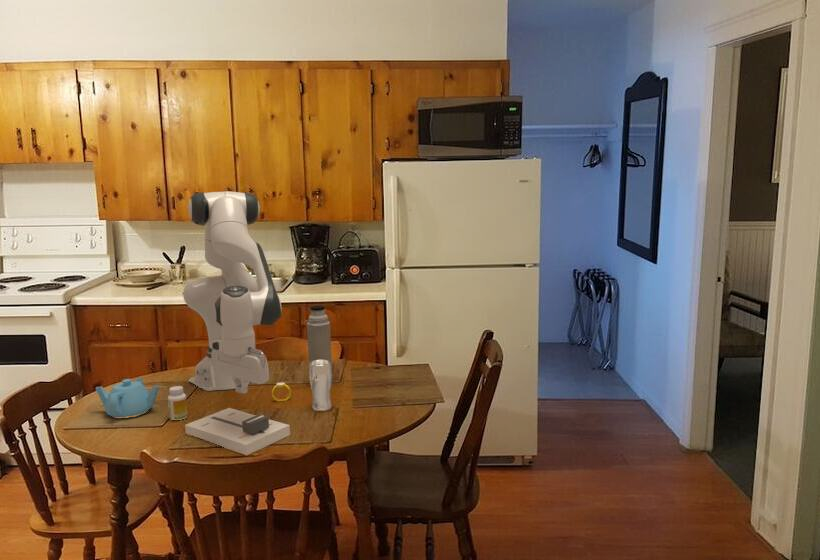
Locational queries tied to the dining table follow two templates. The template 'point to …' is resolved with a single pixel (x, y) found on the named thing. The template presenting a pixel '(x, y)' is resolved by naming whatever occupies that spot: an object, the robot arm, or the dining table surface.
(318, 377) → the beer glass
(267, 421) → the fader knob
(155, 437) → the dining table surface
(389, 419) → the dining table surface
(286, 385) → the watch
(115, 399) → the teapot
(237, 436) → the fader console
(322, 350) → the thermos bottle
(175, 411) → the supplement bottle
